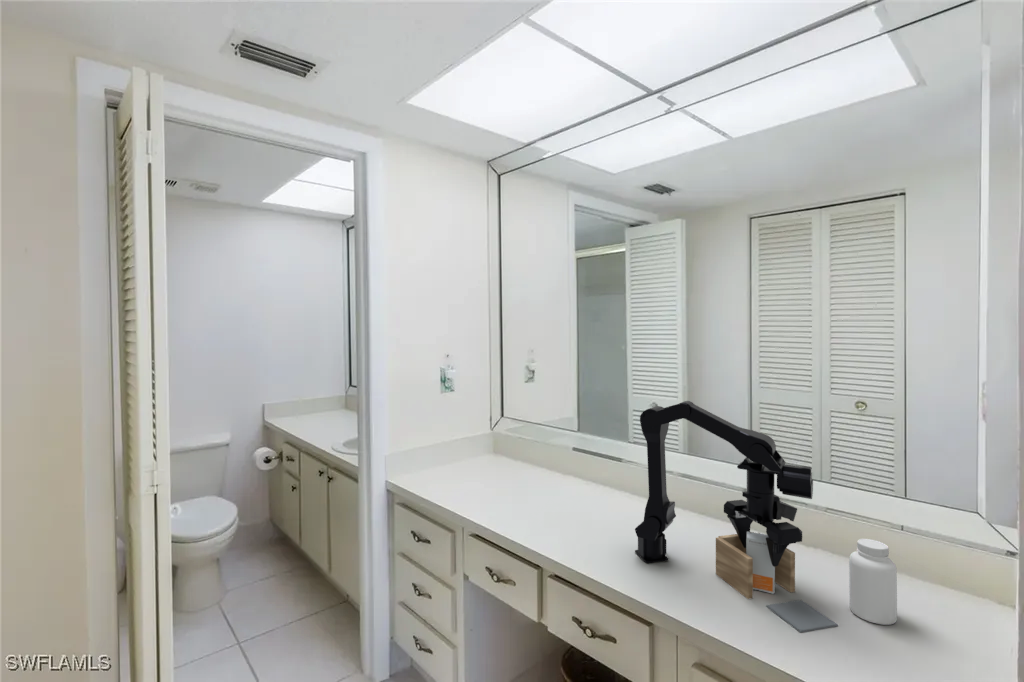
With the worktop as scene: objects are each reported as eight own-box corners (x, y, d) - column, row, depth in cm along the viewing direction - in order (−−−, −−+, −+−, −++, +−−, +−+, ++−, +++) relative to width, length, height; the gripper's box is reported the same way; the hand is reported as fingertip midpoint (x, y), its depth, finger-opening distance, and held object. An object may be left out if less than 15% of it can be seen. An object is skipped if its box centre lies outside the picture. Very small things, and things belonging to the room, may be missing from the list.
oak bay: (747, 599, 105) (748, 558, 105) (714, 572, 117) (714, 536, 117) (794, 591, 108) (795, 552, 108) (757, 566, 119) (757, 531, 119)
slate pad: (800, 632, 93) (800, 630, 93) (766, 606, 102) (766, 605, 102) (837, 626, 95) (837, 624, 95) (801, 601, 104) (801, 599, 104)
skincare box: (745, 588, 110) (745, 537, 109) (746, 579, 113) (746, 530, 113) (775, 595, 107) (775, 542, 106) (775, 586, 110) (775, 535, 110)
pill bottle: (875, 603, 103) (875, 535, 103) (907, 625, 95) (907, 552, 95) (840, 604, 103) (840, 535, 103) (869, 627, 95) (869, 553, 95)
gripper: (823, 501, 102) (823, 572, 103) (760, 475, 120) (760, 536, 121) (780, 505, 100) (779, 578, 100) (722, 478, 118) (722, 540, 118)
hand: (759, 556), depth 110 cm, fingers open, 9 cm apart
